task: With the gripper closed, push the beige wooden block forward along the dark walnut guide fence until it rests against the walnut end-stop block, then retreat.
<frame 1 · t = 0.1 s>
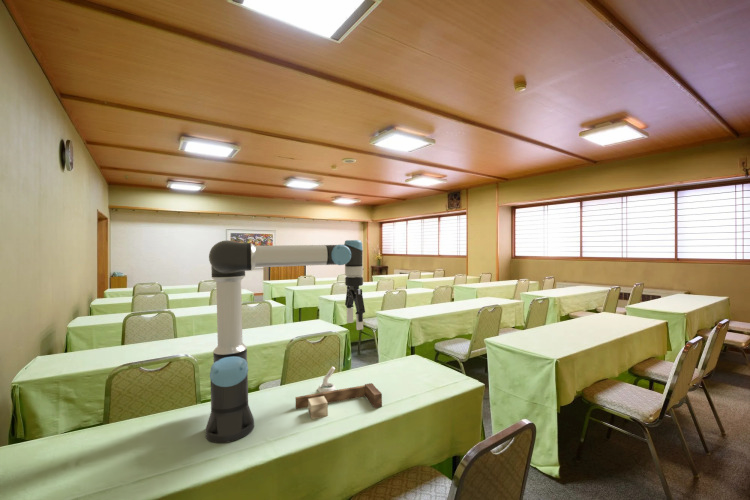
hand: (354, 325, 146), 28 cm above the table, fingers open, 13 cm apart
beige wooden block: (318, 414, 127), on the table
hook: (326, 389, 148), on the table
guide rail: (341, 409, 130), on the table
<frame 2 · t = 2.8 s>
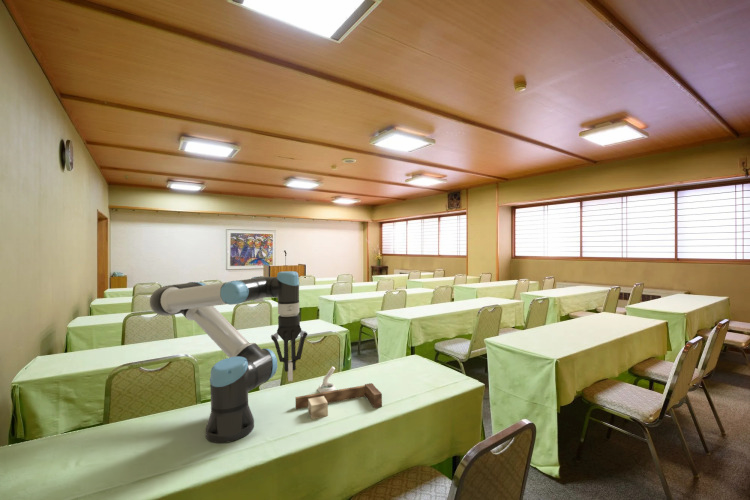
hand: (290, 379, 123), 14 cm above the table, fingers closed
nothing on the table moved.
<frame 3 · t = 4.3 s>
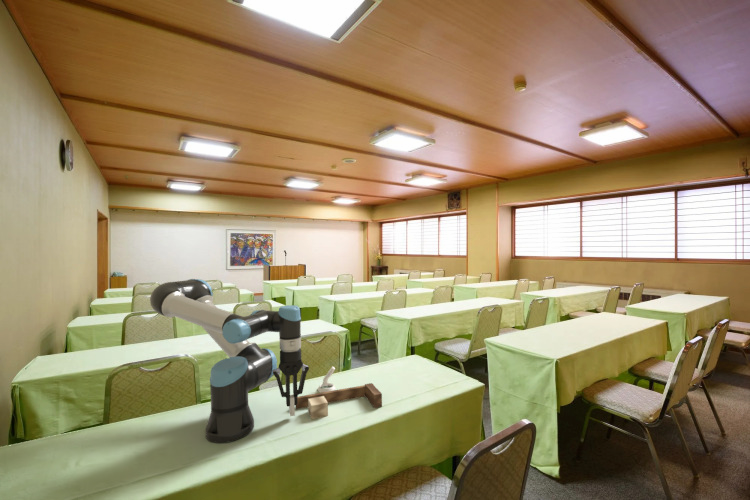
hand: (292, 414, 123), 2 cm above the table, fingers closed
nothing on the table moved.
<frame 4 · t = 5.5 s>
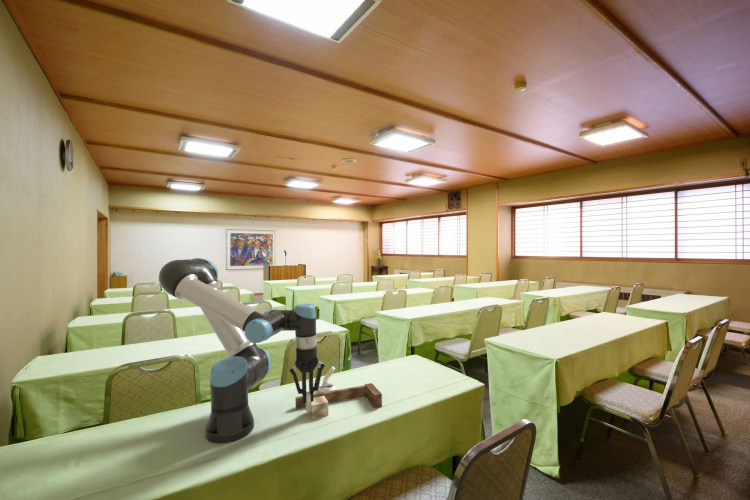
hand: (308, 410, 125), 2 cm above the table, fingers closed
beige wooden block: (318, 413, 127), on the table, touching gripper
everything else where it was.
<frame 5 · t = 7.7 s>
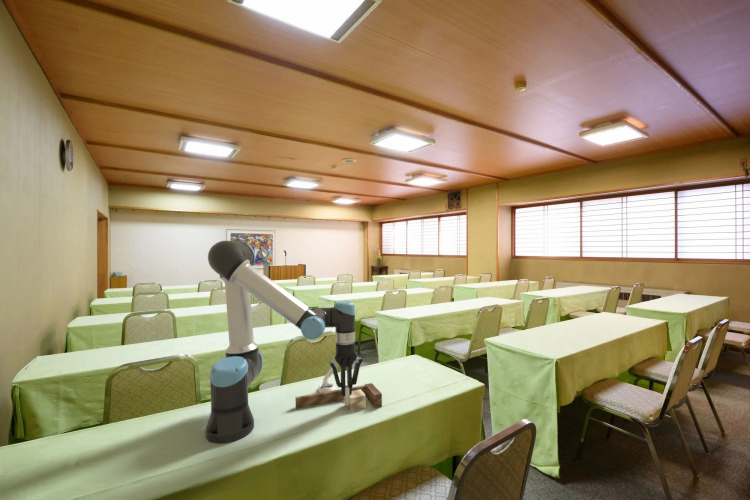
hand: (346, 403, 131), 2 cm above the table, fingers closed
beige wooden block: (355, 406, 132), on the table, touching gripper
everything else where it was.
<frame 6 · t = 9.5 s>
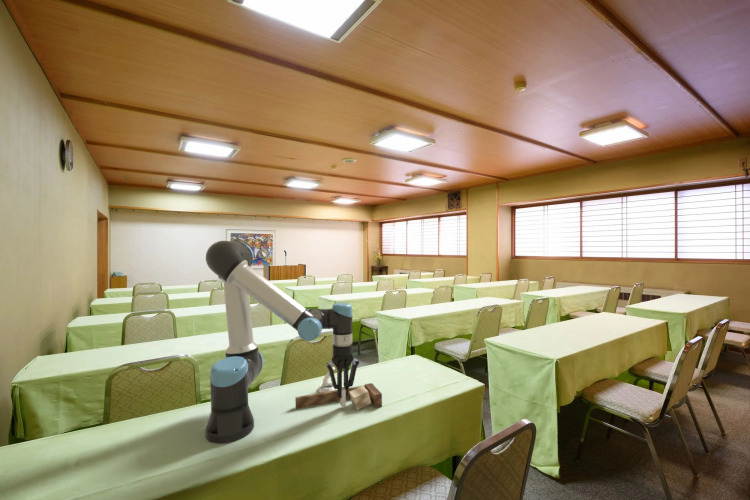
hand: (342, 405, 130), 1 cm above the table, fingers closed
beige wooden block: (361, 403, 133), point 1 cm above the table, tilted 14°
everything else where it was.
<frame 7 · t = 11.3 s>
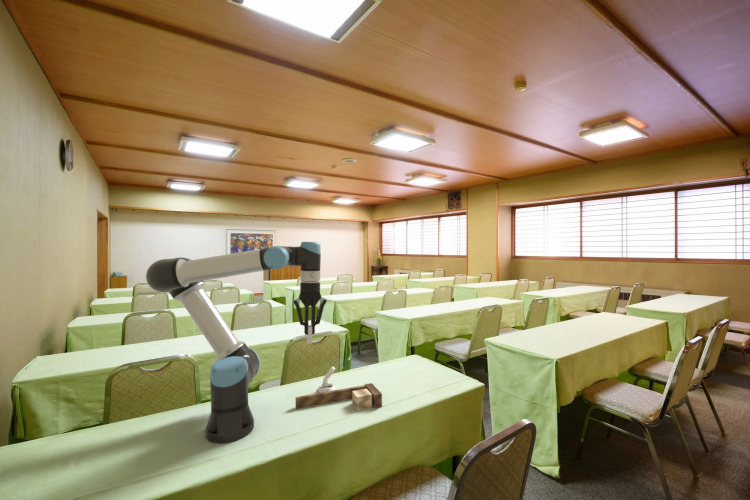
hand: (309, 342, 131), 25 cm above the table, fingers closed
beige wooden block: (362, 405, 133), on the table
everything else where it was.
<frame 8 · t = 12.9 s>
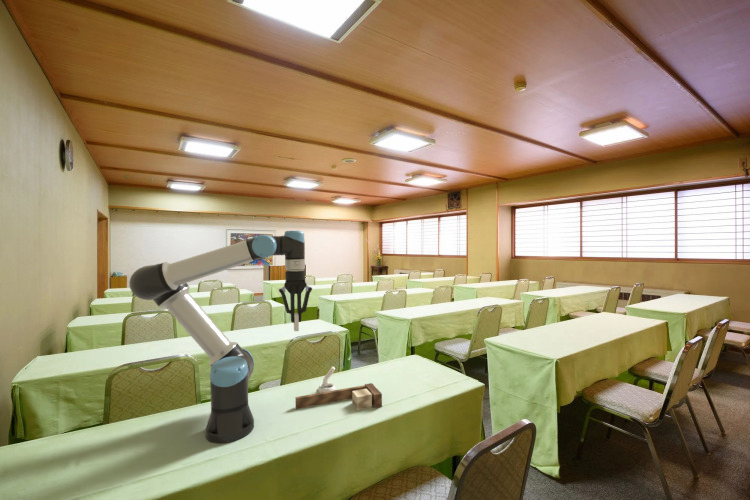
hand: (296, 330, 134), 29 cm above the table, fingers closed
nothing on the table moved.
at the end: beige wooden block inside the target area (0.8 cm from its centre), on the table; beige wooden block moved 17.3 cm from its start; beige wooden block tilted 0° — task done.
